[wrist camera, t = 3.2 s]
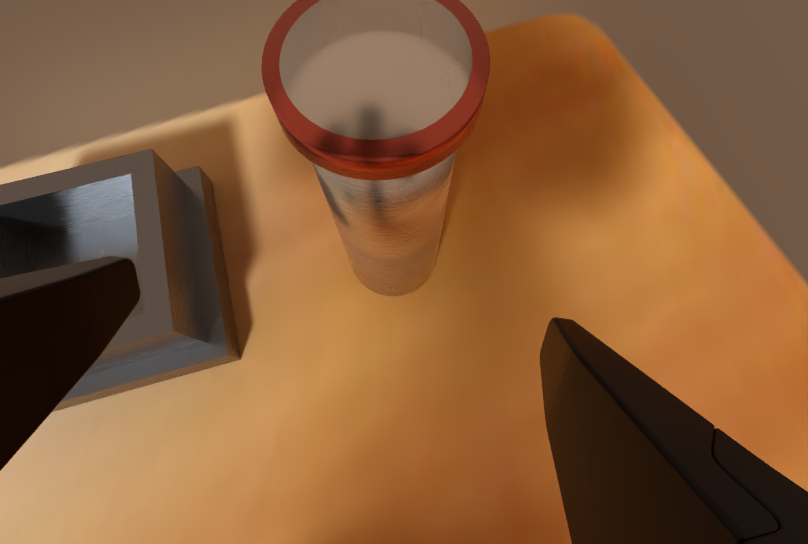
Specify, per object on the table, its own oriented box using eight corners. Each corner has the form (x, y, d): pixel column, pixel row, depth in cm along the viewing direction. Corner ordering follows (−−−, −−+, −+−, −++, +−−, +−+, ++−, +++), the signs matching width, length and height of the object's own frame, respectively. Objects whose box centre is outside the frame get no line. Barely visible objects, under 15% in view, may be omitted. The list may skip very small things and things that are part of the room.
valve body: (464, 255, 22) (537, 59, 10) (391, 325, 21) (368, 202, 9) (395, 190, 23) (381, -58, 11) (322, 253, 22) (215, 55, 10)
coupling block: (240, 359, 21) (196, 345, 16) (25, 419, 20) (-81, 421, 16) (211, 180, 24) (168, 130, 19) (23, 227, 23) (-66, 184, 19)
